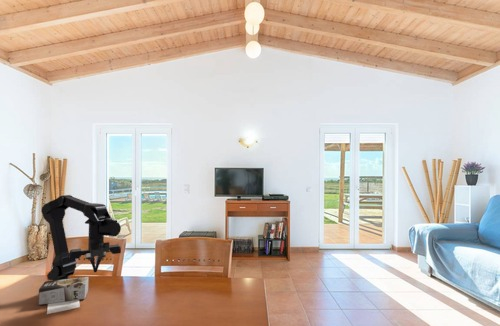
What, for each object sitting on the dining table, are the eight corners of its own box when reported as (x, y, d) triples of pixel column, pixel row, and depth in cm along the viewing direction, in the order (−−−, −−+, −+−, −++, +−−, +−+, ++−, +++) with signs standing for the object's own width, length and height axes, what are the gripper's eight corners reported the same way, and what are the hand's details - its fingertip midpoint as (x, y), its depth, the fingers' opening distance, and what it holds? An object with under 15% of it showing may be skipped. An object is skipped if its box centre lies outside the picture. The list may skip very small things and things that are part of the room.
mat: (48, 300, 118) (48, 299, 118) (78, 294, 124) (78, 294, 124) (46, 314, 106) (46, 313, 106) (79, 307, 112) (79, 306, 112)
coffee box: (85, 283, 119) (38, 289, 113) (85, 299, 119) (37, 305, 113) (88, 276, 127) (44, 280, 121) (88, 290, 127) (44, 296, 121)
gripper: (70, 240, 110) (69, 282, 110) (123, 235, 120) (122, 273, 120) (70, 235, 120) (68, 274, 119) (119, 231, 130) (118, 266, 129)
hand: (95, 272), depth 121 cm, fingers closed
